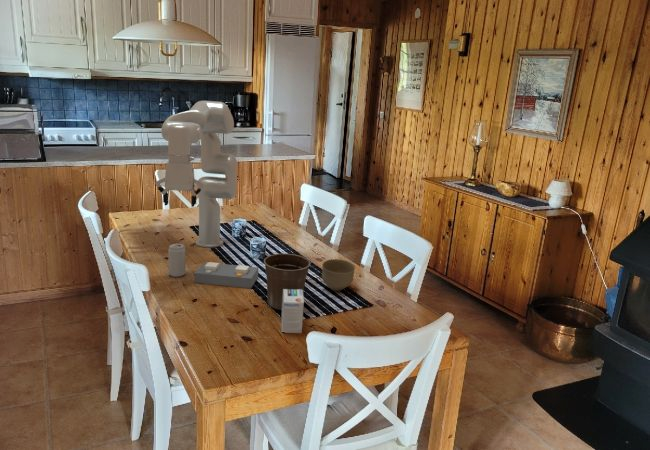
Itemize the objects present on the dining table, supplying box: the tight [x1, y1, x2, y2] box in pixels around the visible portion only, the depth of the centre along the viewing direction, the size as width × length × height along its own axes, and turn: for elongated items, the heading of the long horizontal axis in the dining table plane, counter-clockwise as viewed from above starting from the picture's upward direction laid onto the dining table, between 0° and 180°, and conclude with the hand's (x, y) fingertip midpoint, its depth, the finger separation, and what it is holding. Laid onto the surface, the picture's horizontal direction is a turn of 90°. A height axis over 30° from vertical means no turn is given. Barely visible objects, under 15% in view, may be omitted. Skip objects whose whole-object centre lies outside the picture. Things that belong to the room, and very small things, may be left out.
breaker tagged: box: [235, 264, 250, 275], centre depth 204 cm, size 4×4×3 cm
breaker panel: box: [193, 261, 259, 289], centre depth 205 cm, size 12×22×5 cm, turn 84°
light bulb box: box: [280, 289, 305, 334], centre depth 171 cm, size 11×7×11 cm, turn 5°
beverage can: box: [167, 243, 187, 278], centre depth 206 cm, size 6×6×12 cm
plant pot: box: [263, 253, 311, 311], centre depth 186 cm, size 16×16×16 cm
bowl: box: [321, 258, 356, 291], centre depth 202 cm, size 13×13×10 cm
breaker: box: [205, 261, 220, 271], centre depth 205 cm, size 4×4×3 cm
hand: (179, 205), depth 194 cm, fingers open, 9 cm apart
